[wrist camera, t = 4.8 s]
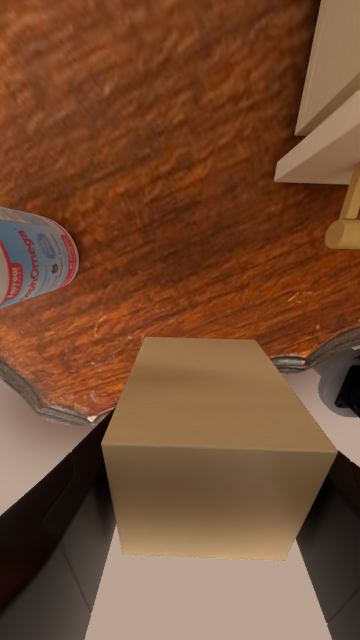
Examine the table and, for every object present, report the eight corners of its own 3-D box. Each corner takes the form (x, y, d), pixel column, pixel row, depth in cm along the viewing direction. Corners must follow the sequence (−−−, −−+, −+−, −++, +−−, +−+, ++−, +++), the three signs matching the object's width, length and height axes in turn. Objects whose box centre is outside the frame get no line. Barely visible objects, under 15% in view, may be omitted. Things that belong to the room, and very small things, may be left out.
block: (240, 420, 10) (285, 561, 6) (149, 417, 10) (121, 555, 6) (255, 339, 9) (340, 451, 4) (145, 336, 9) (99, 444, 4)
